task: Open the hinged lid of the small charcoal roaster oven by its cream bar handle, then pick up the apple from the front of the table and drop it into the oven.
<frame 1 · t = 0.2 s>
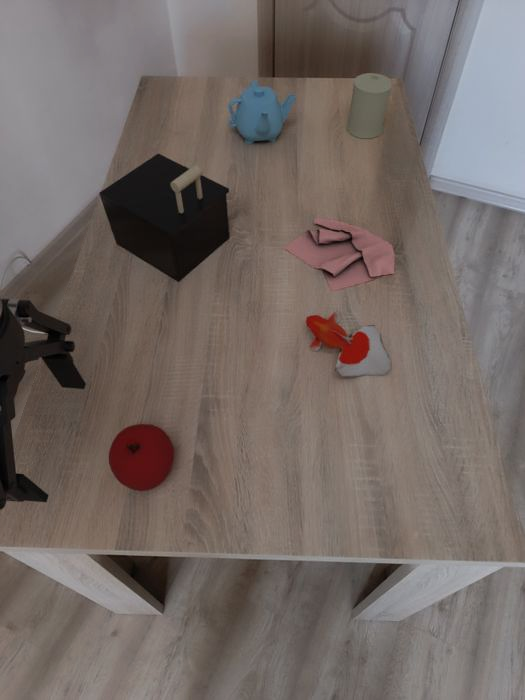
hand: (56, 437, 54), 19 cm above the table, tool pointing down, fingers open, 13 cm apart
roaster oven: (173, 240, 99), on the table
can: (364, 129, 122), on the table
cloth: (339, 251, 97), on the table
teapot: (261, 134, 121), on the table
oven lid: (161, 177, 86), point 15 cm above the table, hinge at 0.0°
fish: (345, 357, 83), on the table
apple: (148, 467, 71), on the table
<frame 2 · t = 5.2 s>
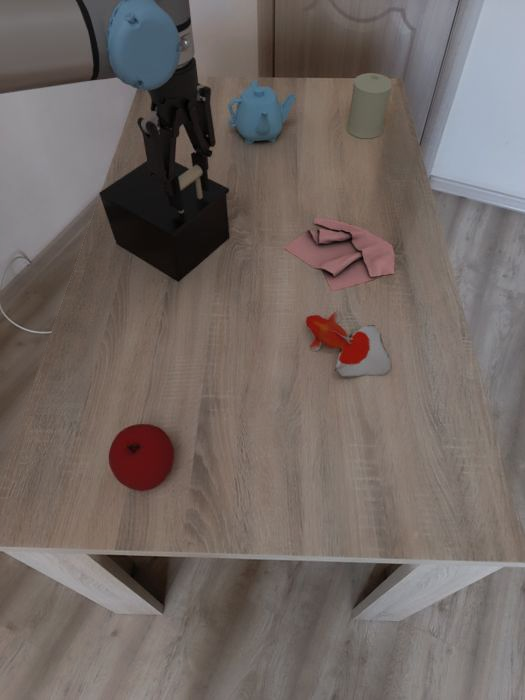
hand: (189, 197, 84), 14 cm above the table, tool pointing down, fingers closed on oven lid, 6 cm apart
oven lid: (161, 177, 86), point 15 cm above the table, hinge at 0.0°, touching gripper
everything else where it was.
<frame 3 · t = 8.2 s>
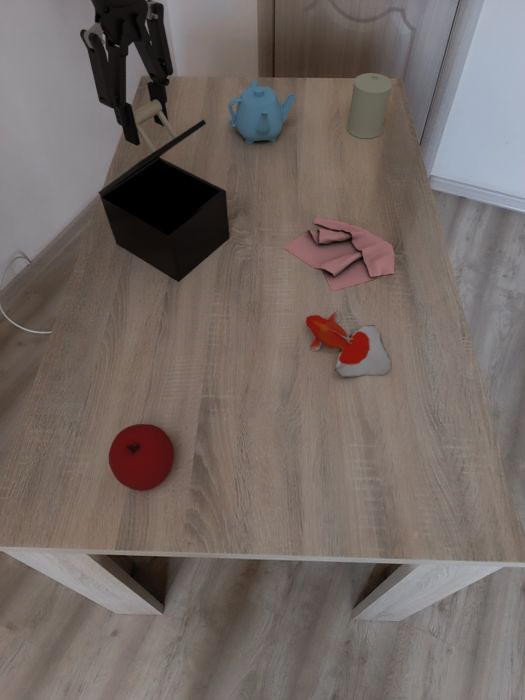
hand: (147, 132, 79), 24 cm above the table, tool pointing down, fingers closed on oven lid, 6 cm apart
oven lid: (138, 142, 83), point 21 cm above the table, hinge at 40.3°, touching gripper
everything else where it was.
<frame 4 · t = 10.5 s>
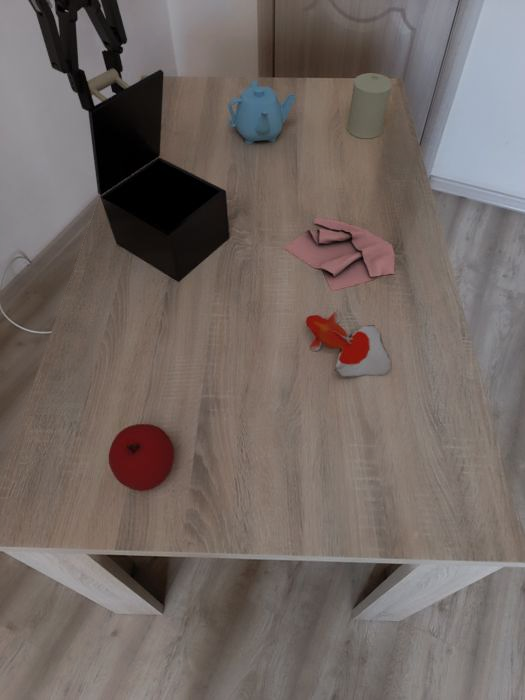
hand: (104, 101, 81), 26 cm above the table, tool pointing down, fingers closed on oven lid, 6 cm apart
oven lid: (115, 124, 84), point 22 cm above the table, hinge at 73.3°, touching gripper
everything else where it was.
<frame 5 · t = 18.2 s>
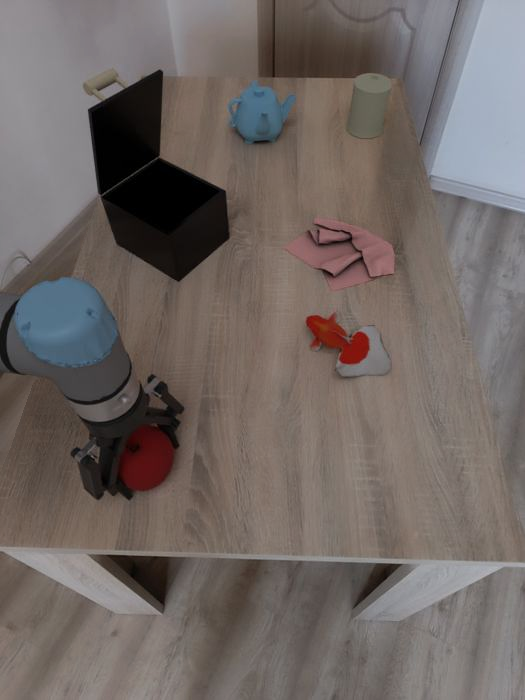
hand: (148, 467, 71), 0 cm above the table, tool pointing down, fingers closed on apple, 9 cm apart
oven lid: (115, 124, 84), point 22 cm above the table, hinge at 73.5°
apple: (148, 468, 71), on the table, touching gripper
everything else where it was.
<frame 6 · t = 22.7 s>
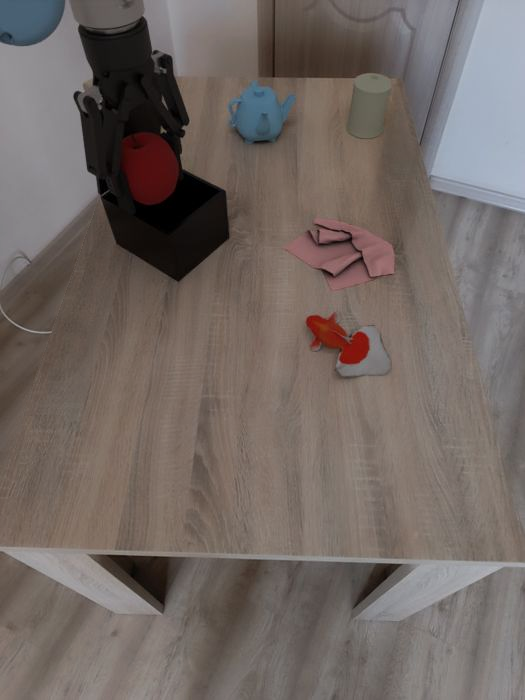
hand: (152, 192, 70), 24 cm above the table, tool pointing down, fingers closed on apple, 9 cm apart
apple: (152, 195, 70), point 23 cm above the table, touching gripper
everything else where it was.
when the fingers open (10 cm above the table, at t = 27.6 s): apple drops 8 cm, resting on roaster oven.
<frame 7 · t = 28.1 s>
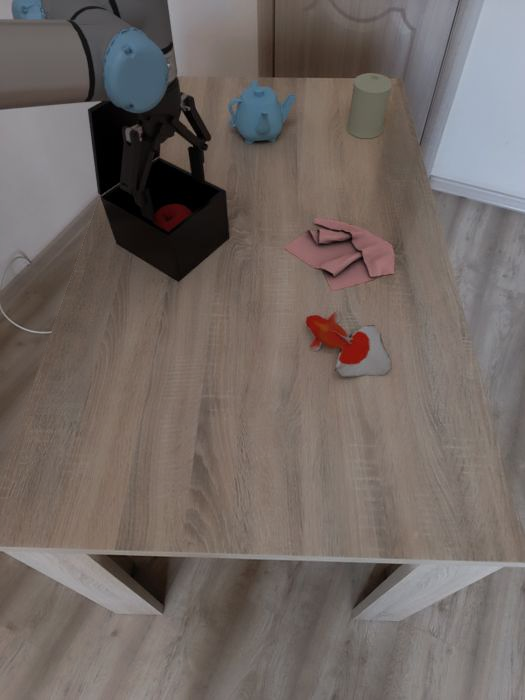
hand: (174, 198, 88), 12 cm above the table, tool pointing down, fingers open, 13 cm apart
apple: (182, 242, 96), point 1 cm above the table, touching roaster oven
everything else where it was.
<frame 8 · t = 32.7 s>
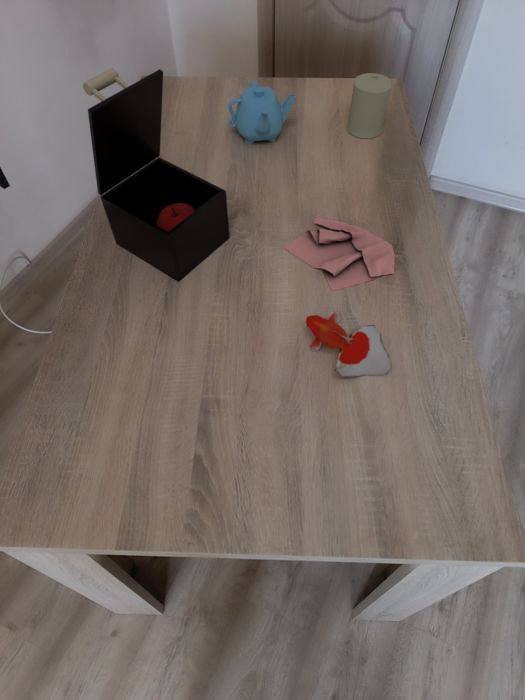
at the end: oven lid at +74° (first picture: +0°); apple inside the target area in the roaster oven (3.0 cm from its centre), point 0.6 cm above the roaster oven's base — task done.
